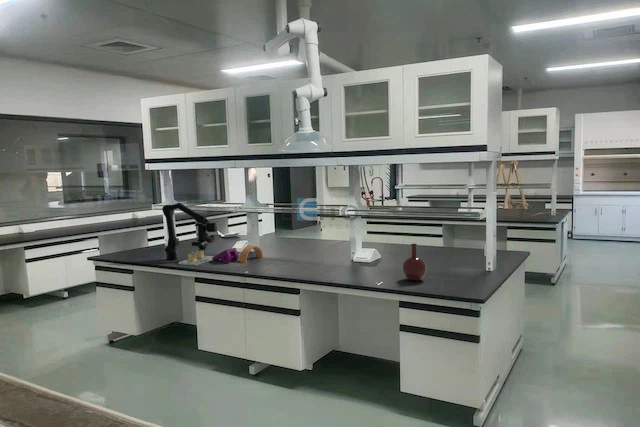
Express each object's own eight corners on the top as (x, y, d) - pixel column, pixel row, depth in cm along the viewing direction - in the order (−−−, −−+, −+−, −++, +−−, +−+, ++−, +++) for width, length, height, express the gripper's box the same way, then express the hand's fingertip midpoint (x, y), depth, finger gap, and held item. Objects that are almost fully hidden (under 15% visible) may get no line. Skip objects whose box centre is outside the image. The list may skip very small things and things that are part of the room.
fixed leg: (188, 261, 324) (187, 252, 324) (191, 260, 328) (191, 251, 328) (193, 261, 323) (192, 252, 322) (196, 260, 327) (196, 251, 326)
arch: (263, 257, 338) (262, 244, 337) (245, 263, 321) (245, 248, 320) (256, 257, 341) (256, 243, 340) (239, 262, 324) (238, 248, 323)
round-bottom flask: (399, 282, 256) (399, 245, 254) (405, 276, 268) (404, 241, 266) (423, 283, 250) (423, 246, 248) (428, 278, 262) (428, 242, 260)
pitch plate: (178, 264, 323) (178, 261, 322) (199, 257, 345) (199, 255, 345) (196, 265, 318) (195, 262, 318) (215, 258, 340) (215, 255, 340)
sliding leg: (196, 257, 333) (195, 249, 332) (199, 256, 337) (199, 248, 336) (201, 258, 332) (200, 249, 331) (204, 257, 335) (203, 248, 335)
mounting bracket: (213, 270, 328) (230, 261, 319) (209, 259, 329) (226, 249, 320) (223, 267, 336) (240, 258, 327) (218, 256, 337) (235, 247, 328)
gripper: (204, 234, 324) (205, 256, 326) (219, 230, 342) (220, 251, 343) (190, 234, 328) (191, 256, 330) (205, 230, 346) (206, 251, 347)
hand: (203, 253), depth 338 cm, fingers closed
